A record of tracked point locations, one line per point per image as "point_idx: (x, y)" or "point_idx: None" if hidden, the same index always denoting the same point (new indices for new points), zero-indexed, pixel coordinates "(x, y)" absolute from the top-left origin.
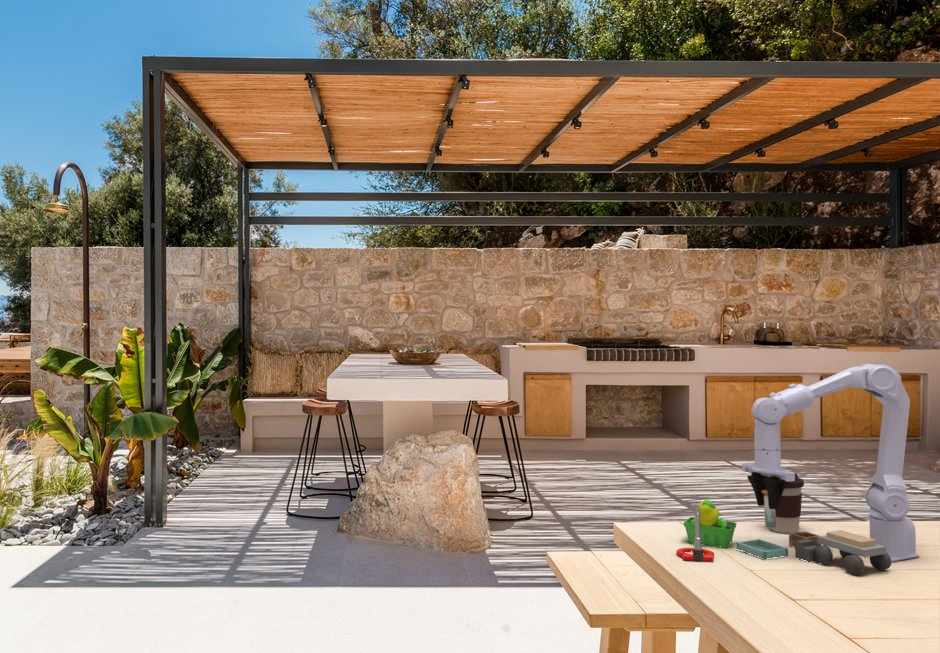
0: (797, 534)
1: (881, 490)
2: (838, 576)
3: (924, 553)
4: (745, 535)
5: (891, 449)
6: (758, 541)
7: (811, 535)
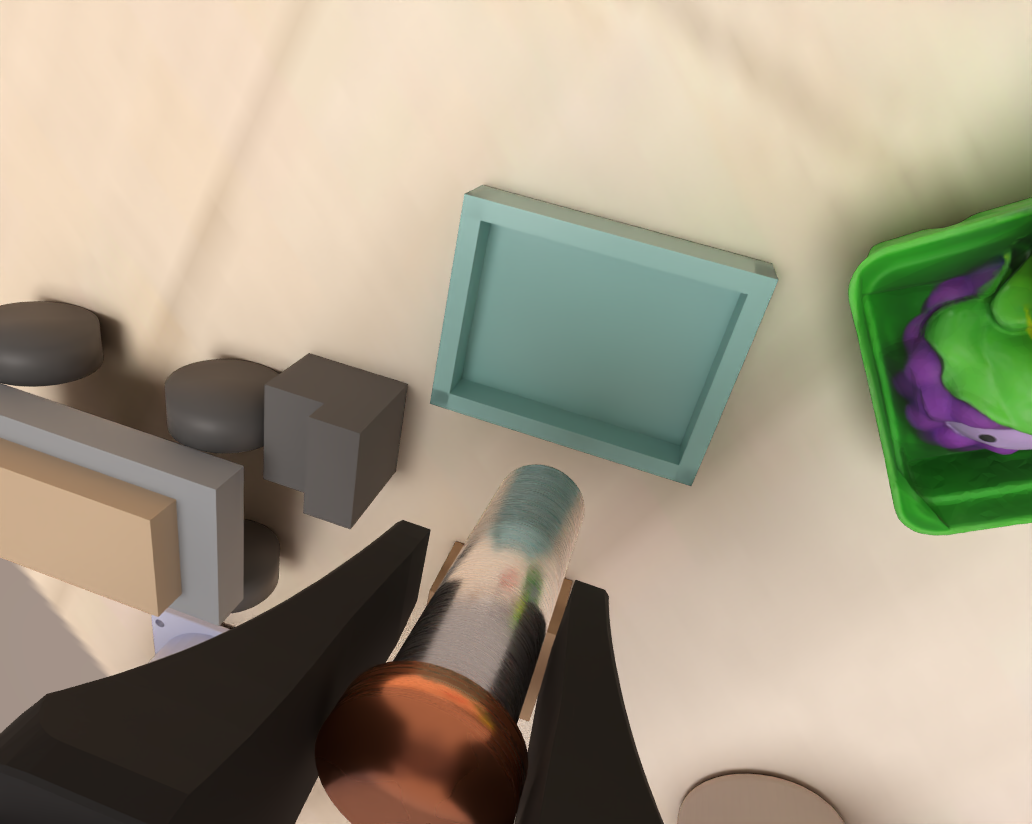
0: None
1: None
2: (78, 228)
3: None
4: (902, 637)
5: None
6: (680, 455)
7: None
